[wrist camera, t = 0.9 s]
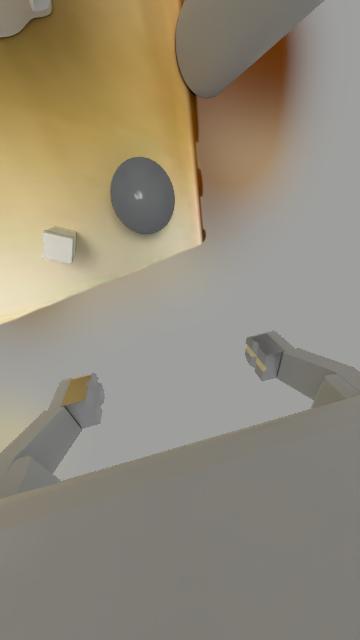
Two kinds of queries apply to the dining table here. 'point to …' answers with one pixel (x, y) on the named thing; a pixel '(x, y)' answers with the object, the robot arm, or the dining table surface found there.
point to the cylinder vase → (230, 37)
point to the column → (59, 244)
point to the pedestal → (142, 195)
